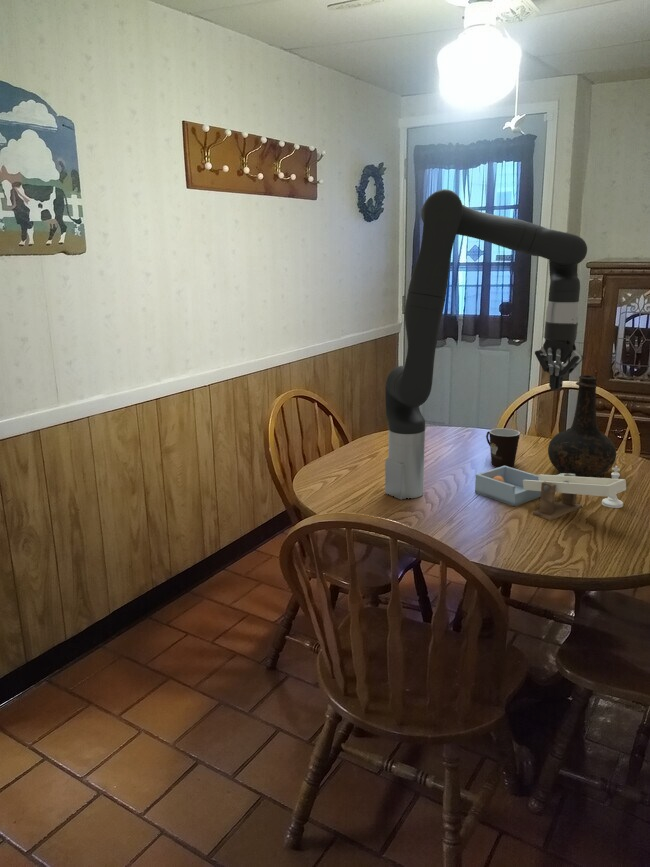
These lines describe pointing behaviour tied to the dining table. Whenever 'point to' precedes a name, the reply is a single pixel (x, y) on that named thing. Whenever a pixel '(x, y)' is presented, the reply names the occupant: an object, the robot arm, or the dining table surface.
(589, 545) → the dining table surface
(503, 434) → the coffee mug
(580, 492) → the lever
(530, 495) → the bin
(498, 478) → the ball
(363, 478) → the dining table surface
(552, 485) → the stand
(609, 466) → the glass bottle
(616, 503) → the chess piece
